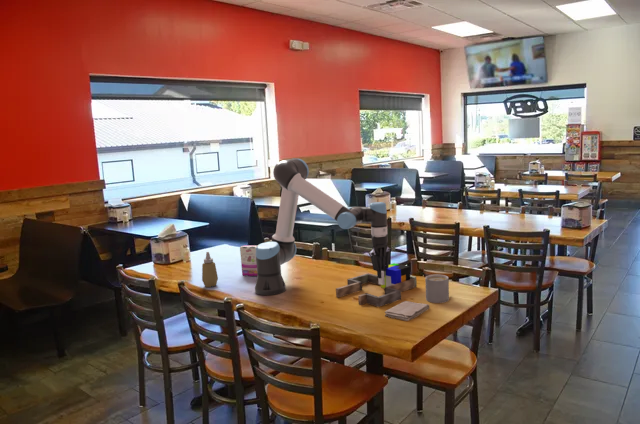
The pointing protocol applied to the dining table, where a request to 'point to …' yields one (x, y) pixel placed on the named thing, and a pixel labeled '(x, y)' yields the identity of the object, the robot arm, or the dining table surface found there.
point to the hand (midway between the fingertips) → (381, 284)
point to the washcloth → (406, 310)
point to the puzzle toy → (396, 274)
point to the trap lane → (390, 295)
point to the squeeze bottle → (209, 271)
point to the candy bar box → (248, 260)
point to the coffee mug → (437, 288)
